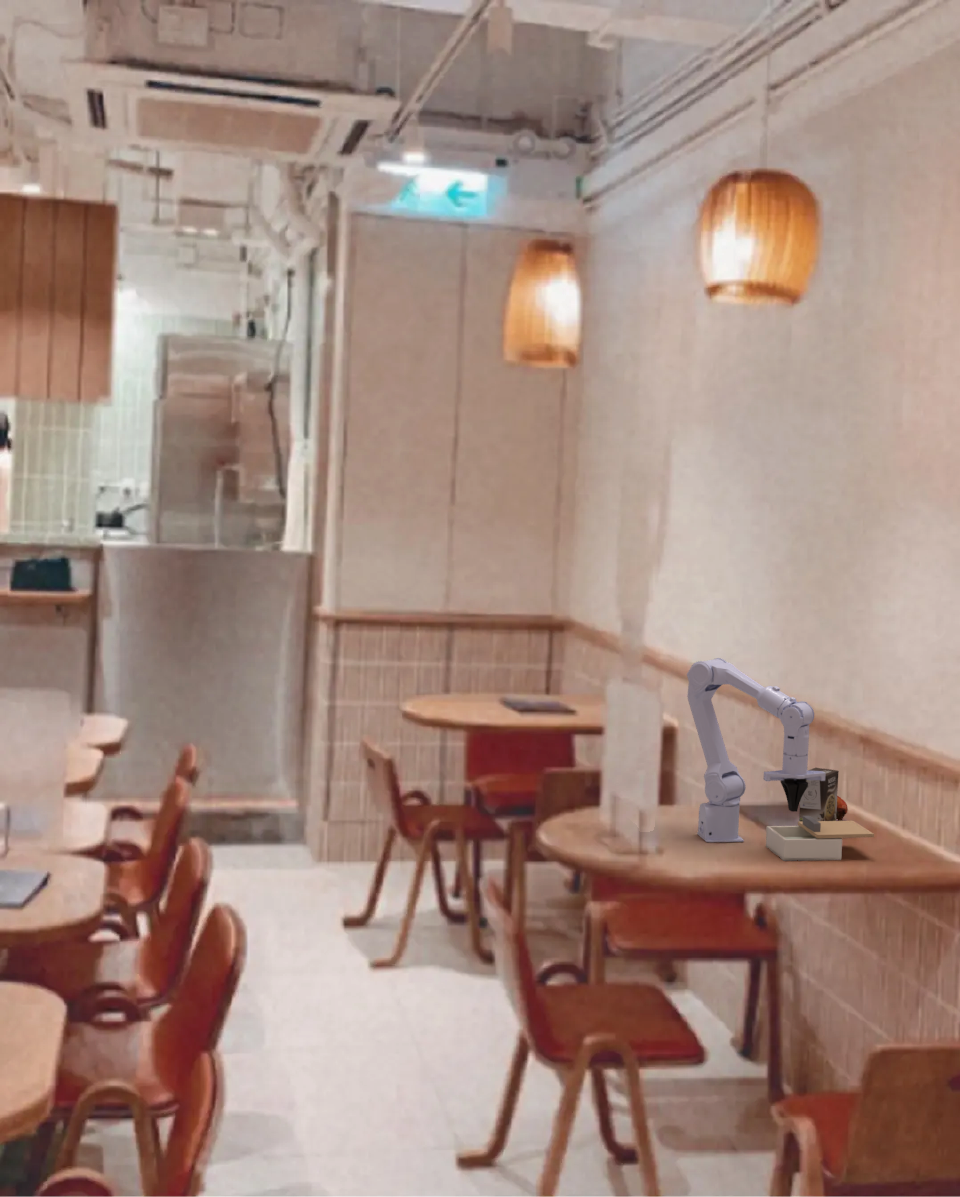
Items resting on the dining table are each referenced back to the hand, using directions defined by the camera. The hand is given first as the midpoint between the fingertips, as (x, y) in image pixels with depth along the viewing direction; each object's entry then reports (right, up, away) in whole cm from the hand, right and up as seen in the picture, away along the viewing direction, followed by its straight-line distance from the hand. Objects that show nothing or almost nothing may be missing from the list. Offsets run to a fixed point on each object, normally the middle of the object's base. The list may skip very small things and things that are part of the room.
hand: (792, 810), depth 323 cm
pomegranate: (+17, -8, +32) cm, 37 cm away
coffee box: (+10, -9, +19) cm, 23 cm away
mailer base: (+3, -10, +1) cm, 11 cm away
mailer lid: (+11, -5, +2) cm, 12 cm away
